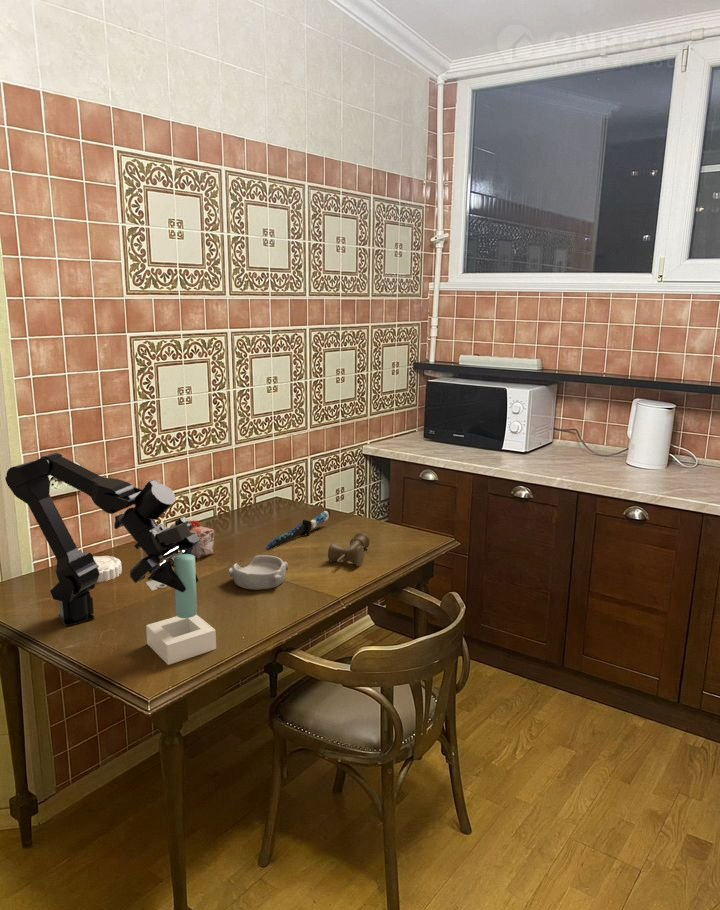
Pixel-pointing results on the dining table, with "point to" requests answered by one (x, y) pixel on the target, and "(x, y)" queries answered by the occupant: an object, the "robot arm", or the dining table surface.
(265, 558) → the dish
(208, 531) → the food item
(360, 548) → the kendama
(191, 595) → the teal dowel
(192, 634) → the well block
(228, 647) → the dining table surface
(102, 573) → the mooncake
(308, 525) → the knife
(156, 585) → the mounting bracket
